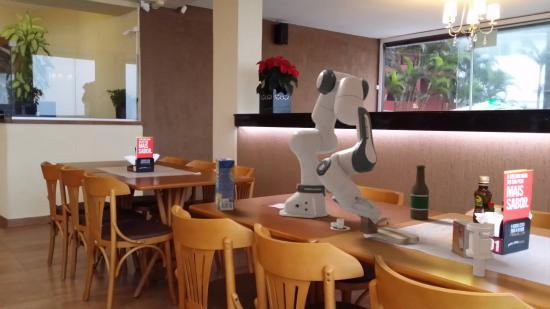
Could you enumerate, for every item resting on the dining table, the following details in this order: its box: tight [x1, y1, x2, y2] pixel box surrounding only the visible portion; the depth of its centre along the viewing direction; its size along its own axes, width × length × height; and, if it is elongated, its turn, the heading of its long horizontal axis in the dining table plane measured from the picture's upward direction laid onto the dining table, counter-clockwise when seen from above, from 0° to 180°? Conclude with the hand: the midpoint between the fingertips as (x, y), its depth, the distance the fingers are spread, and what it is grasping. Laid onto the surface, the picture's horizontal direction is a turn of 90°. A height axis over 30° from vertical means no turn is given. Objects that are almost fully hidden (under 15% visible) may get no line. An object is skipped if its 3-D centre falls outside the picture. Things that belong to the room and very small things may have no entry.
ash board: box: [369, 226, 420, 246], centre depth 175 cm, size 9×18×2 cm, turn 25°
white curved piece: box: [329, 217, 351, 231], centre depth 192 cm, size 9×8×4 cm
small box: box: [451, 219, 482, 259], centre depth 153 cm, size 8×6×10 cm
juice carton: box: [214, 158, 236, 211], centre depth 234 cm, size 12×8×24 cm, turn 16°
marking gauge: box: [359, 216, 392, 235], centre depth 177 cm, size 12×4×9 cm, turn 115°
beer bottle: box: [409, 164, 430, 221], centre depth 213 cm, size 8×8×24 cm
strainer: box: [466, 221, 495, 278], centre depth 132 cm, size 7×7×15 cm
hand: (370, 220), depth 175 cm, fingers closed on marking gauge, 4 cm apart
